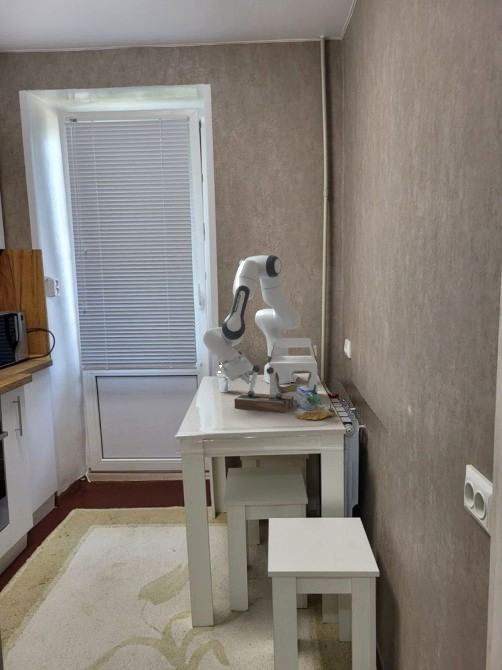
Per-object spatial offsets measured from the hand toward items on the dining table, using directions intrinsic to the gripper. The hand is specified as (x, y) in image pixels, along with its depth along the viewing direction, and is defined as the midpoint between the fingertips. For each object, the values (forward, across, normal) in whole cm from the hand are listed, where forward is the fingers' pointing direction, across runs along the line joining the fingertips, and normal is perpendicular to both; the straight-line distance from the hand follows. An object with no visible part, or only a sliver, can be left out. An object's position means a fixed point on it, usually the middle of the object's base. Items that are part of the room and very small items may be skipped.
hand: (250, 382), depth 211 cm
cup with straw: (-8, +20, +23) cm, 32 cm away
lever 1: (+4, 0, +5) cm, 6 cm away
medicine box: (+24, +4, -10) cm, 26 cm away
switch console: (+12, 0, +2) cm, 12 cm away
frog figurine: (+30, -8, -15) cm, 35 cm away
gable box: (+17, +20, -2) cm, 26 cm away
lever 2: (+14, 0, -5) cm, 15 cm away
